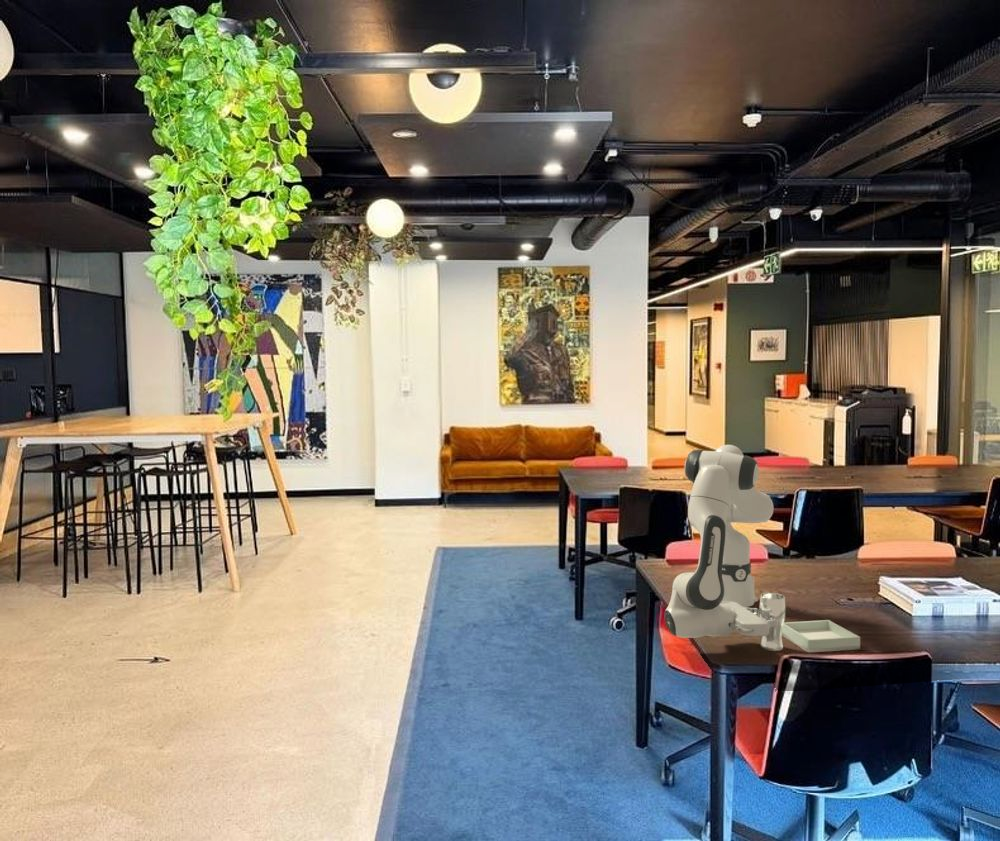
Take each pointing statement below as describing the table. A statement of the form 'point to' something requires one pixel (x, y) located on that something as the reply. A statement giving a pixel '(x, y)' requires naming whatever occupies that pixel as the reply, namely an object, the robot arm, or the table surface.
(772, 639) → the beer glass
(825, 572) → the table surface
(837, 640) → the light gray opaque tray
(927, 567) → the table surface
